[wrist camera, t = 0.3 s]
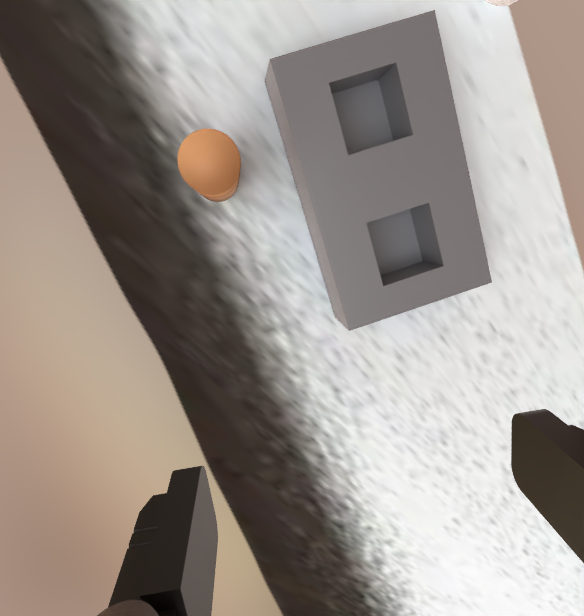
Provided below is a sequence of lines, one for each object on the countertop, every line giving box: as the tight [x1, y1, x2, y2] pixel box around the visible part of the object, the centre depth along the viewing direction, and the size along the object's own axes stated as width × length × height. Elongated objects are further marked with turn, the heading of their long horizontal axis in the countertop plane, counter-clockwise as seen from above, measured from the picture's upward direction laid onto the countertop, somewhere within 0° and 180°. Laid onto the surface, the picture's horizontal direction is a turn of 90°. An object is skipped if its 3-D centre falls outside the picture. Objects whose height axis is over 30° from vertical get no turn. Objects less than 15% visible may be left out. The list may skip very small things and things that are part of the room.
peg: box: [178, 129, 241, 202], centre depth 31 cm, size 3×3×12 cm
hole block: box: [265, 10, 492, 331], centre depth 36 cm, size 20×12×5 cm, turn 18°
